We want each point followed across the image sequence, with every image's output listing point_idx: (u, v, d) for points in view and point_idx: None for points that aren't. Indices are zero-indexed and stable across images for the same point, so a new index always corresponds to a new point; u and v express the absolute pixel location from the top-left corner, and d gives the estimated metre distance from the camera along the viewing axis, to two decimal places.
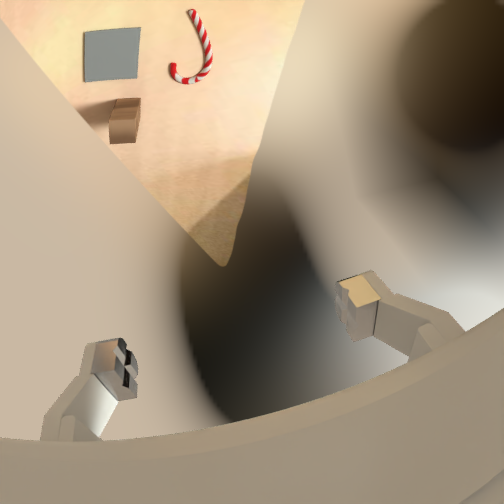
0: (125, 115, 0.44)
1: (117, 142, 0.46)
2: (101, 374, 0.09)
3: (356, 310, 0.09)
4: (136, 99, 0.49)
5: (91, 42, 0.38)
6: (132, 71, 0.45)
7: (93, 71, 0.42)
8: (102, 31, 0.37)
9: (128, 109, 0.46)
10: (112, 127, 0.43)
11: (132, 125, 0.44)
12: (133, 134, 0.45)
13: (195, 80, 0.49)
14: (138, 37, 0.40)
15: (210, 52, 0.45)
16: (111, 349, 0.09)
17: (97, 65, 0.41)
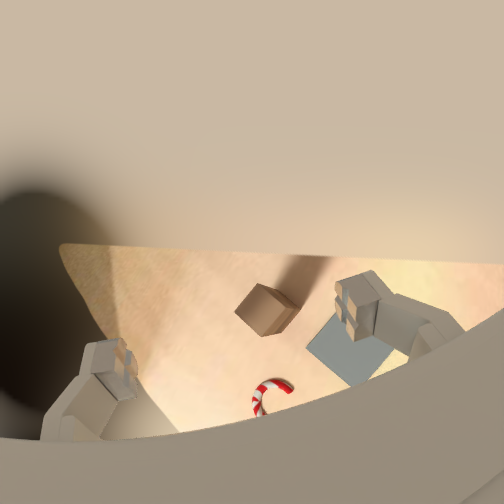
0: (275, 324, 0.37)
1: (251, 294, 0.36)
2: (101, 374, 0.09)
3: (356, 310, 0.09)
4: (282, 329, 0.43)
5: None
6: (316, 349, 0.42)
7: None
8: (388, 354, 0.38)
9: (278, 325, 0.39)
10: (274, 304, 0.35)
11: (256, 326, 0.35)
12: (245, 318, 0.36)
13: (255, 398, 0.42)
14: (348, 382, 0.39)
15: None
16: (111, 349, 0.09)
17: None
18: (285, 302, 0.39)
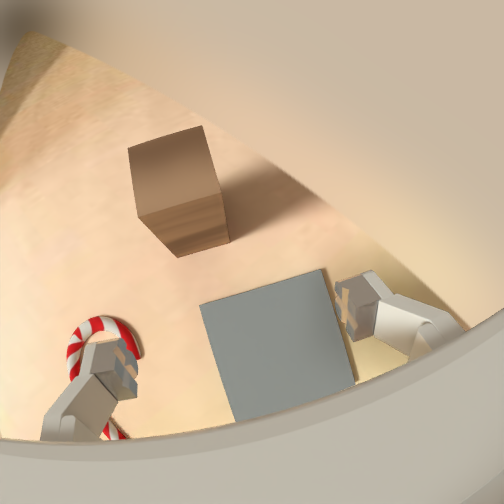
0: (178, 218, 0.17)
1: (178, 136, 0.16)
2: (101, 374, 0.09)
3: (356, 310, 0.09)
4: (183, 253, 0.24)
5: (334, 367, 0.23)
6: (215, 318, 0.23)
7: (308, 299, 0.24)
8: (319, 397, 0.22)
9: (183, 232, 0.19)
10: (203, 174, 0.16)
11: (143, 194, 0.15)
12: (135, 169, 0.16)
13: (79, 332, 0.22)
14: (231, 402, 0.22)
15: None
16: (111, 349, 0.09)
17: (303, 316, 0.23)
18: None
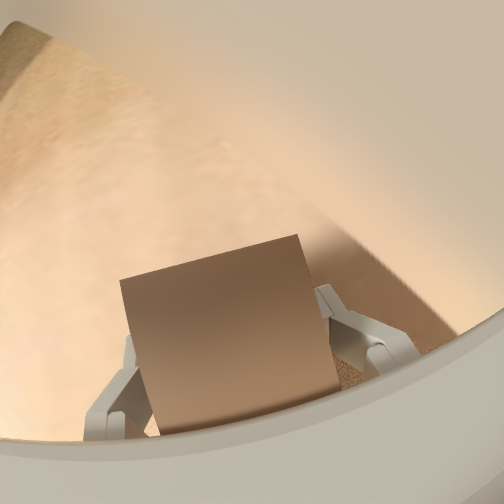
0: None
1: (243, 261, 0.07)
2: None
3: None
4: None
5: None
6: None
7: None
8: None
9: None
10: (308, 371, 0.07)
11: (172, 408, 0.06)
12: (145, 343, 0.07)
13: None
14: None
15: None
16: None
17: None
18: None
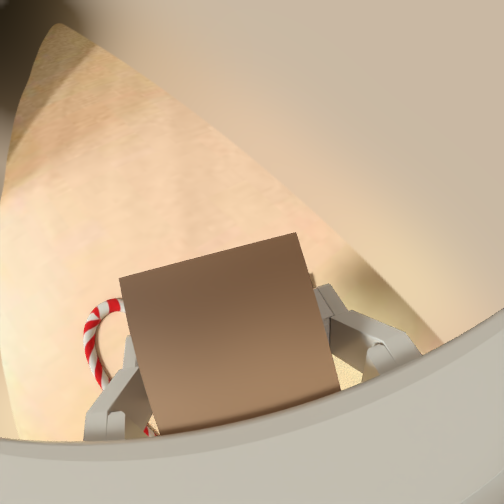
0: None
1: (242, 259, 0.07)
2: None
3: None
4: None
5: None
6: None
7: None
8: None
9: None
10: (307, 368, 0.07)
11: (170, 405, 0.06)
12: (144, 341, 0.07)
13: (97, 311, 0.27)
14: None
15: (92, 370, 0.26)
16: None
17: None
18: None
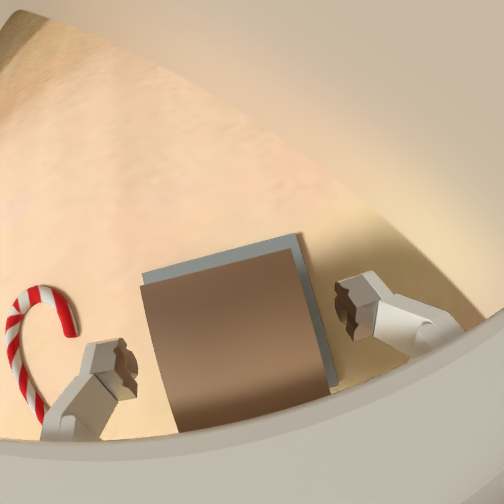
0: None
1: (244, 271, 0.09)
2: (101, 374, 0.09)
3: (356, 310, 0.09)
4: None
5: None
6: None
7: None
8: None
9: None
10: (299, 363, 0.08)
11: (184, 393, 0.08)
12: (162, 339, 0.08)
13: (17, 303, 0.17)
14: None
15: (16, 381, 0.16)
16: (111, 349, 0.09)
17: None
18: None
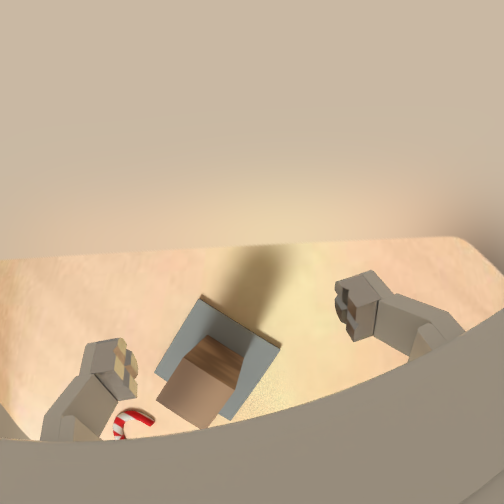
0: None
1: (177, 374, 0.21)
2: (101, 374, 0.09)
3: (356, 310, 0.09)
4: None
5: (256, 350, 0.31)
6: (167, 373, 0.31)
7: (206, 323, 0.31)
8: (262, 373, 0.31)
9: None
10: (215, 387, 0.21)
11: (194, 419, 0.21)
12: (175, 409, 0.21)
13: (115, 432, 0.30)
14: None
15: None
16: (111, 349, 0.09)
17: (211, 334, 0.31)
18: (227, 367, 0.25)
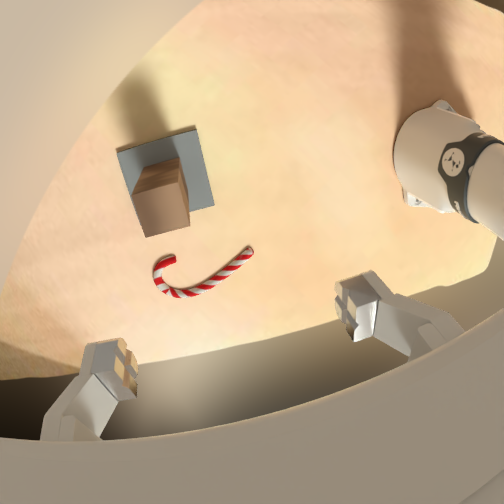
0: (185, 201, 0.29)
1: (138, 208, 0.27)
2: (101, 374, 0.09)
3: (356, 310, 0.09)
4: (186, 188, 0.36)
5: (181, 145, 0.34)
6: None
7: (135, 161, 0.34)
8: (201, 155, 0.35)
9: (185, 194, 0.32)
10: (166, 192, 0.27)
11: (176, 224, 0.28)
12: (160, 230, 0.28)
13: (164, 291, 0.44)
14: (200, 207, 0.39)
15: (205, 290, 0.45)
16: (111, 349, 0.09)
17: (146, 164, 0.34)
18: (167, 173, 0.30)
